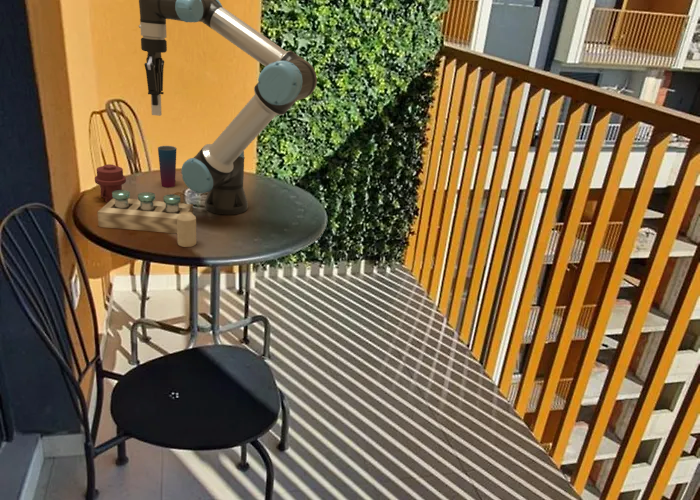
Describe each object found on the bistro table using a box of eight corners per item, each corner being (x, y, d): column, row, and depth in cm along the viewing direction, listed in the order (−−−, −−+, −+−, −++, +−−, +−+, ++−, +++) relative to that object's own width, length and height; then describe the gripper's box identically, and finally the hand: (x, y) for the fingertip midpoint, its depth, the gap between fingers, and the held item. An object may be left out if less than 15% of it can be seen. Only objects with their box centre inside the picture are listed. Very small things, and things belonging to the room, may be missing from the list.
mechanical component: (132, 197, 195) (116, 206, 186) (107, 193, 197) (90, 201, 188) (130, 164, 190) (114, 171, 181) (105, 160, 192) (87, 167, 183)
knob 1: (133, 215, 178) (132, 190, 175) (128, 220, 173) (126, 195, 170) (117, 213, 178) (115, 189, 174) (111, 219, 173) (109, 194, 170)
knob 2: (182, 219, 179) (182, 195, 176) (178, 225, 174) (178, 200, 171) (166, 218, 179) (165, 193, 175) (162, 223, 174) (161, 198, 171)
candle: (186, 248, 161) (185, 217, 157) (173, 243, 164) (172, 212, 160) (200, 243, 166) (199, 213, 162) (187, 238, 168) (186, 208, 164)
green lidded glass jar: (158, 217, 179) (157, 193, 175) (153, 223, 174) (152, 198, 170) (142, 215, 178) (140, 191, 175) (137, 221, 174) (135, 196, 170)
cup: (174, 189, 209) (173, 151, 203) (156, 187, 209) (155, 149, 202) (179, 183, 215) (178, 146, 209) (162, 182, 215) (161, 144, 209)
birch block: (193, 218, 184) (192, 204, 182) (182, 233, 171) (182, 219, 169) (115, 211, 182) (114, 197, 180) (98, 226, 169) (97, 211, 167)
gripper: (147, 35, 172) (151, 110, 182) (134, 37, 160) (138, 117, 170) (171, 38, 173) (173, 112, 182) (159, 40, 161) (162, 119, 170)
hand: (156, 114), depth 176 cm, fingers closed
